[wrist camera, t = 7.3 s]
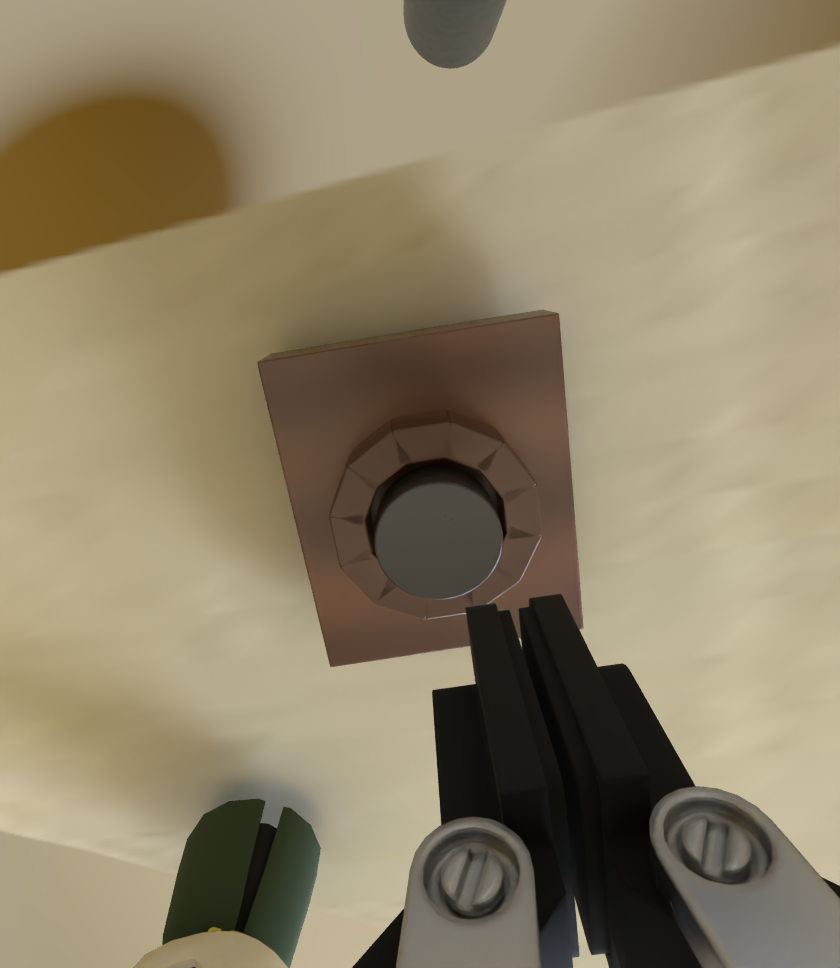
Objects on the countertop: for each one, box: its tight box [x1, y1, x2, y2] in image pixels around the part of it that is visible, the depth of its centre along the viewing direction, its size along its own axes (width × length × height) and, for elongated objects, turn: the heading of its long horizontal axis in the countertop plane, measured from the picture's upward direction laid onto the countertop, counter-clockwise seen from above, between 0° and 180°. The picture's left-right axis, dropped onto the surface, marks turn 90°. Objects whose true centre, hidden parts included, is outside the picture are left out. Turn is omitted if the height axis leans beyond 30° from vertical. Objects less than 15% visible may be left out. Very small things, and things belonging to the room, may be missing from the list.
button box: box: [257, 310, 583, 667], centre depth 22 cm, size 12×10×4 cm
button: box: [374, 466, 503, 600], centre depth 20 cm, size 4×4×2 cm
